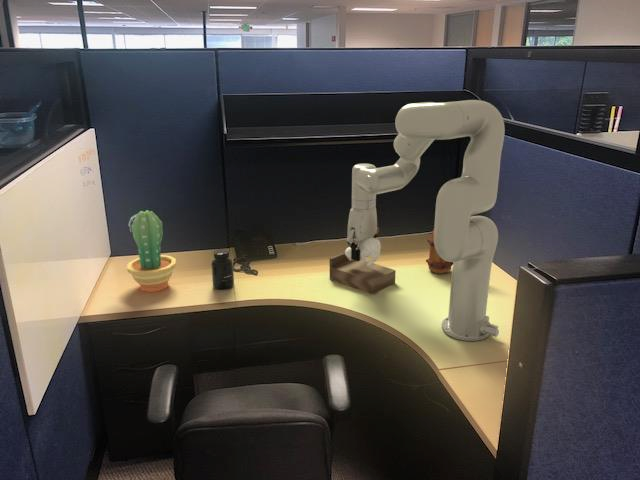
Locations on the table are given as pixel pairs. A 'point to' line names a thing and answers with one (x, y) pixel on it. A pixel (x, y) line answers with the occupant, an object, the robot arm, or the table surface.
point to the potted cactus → (149, 253)
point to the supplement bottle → (222, 270)
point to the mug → (437, 259)
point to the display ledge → (360, 274)
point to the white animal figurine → (367, 250)
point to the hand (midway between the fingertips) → (362, 256)
